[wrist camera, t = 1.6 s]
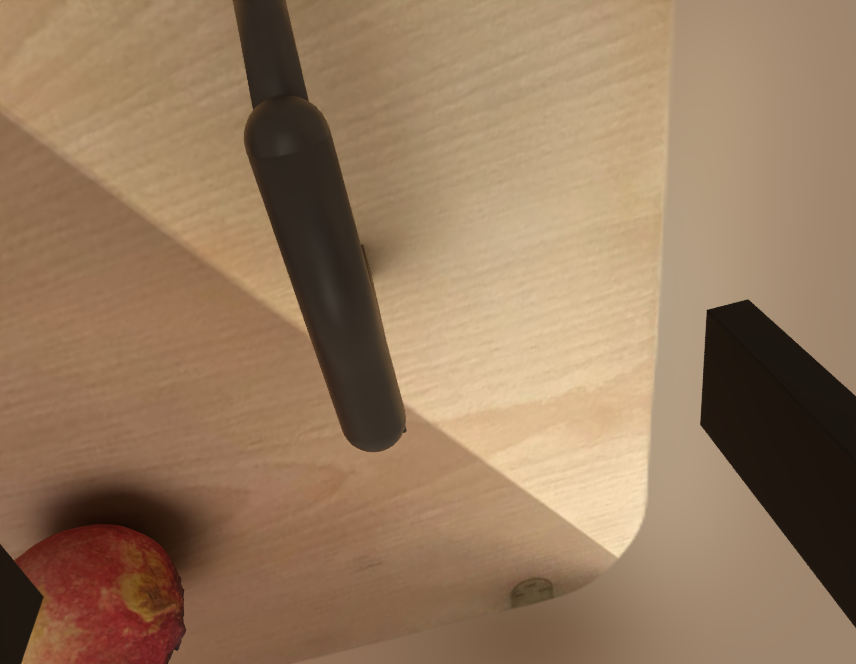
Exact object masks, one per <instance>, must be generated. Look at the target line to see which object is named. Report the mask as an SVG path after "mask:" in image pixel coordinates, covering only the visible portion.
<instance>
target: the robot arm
mask: <svg viewBox="0 0 856 664" xmlns="http://www.w3.org/2000/svg"><path fill="white" fill-rule="evenodd" d="M704 353H705V354H704V369H703V388H702V405H701V421H700V425H701V426H702V427H703V429H704V430H705V431H706V433H707V434H708V435H709V436H710V438H711V439H712V441H713V442H714V443H715V445H716V446H717V447H718V448H719V450H720V451H721V452H722V454H723V455H724V456H725V457H726V459H727V460H728V461H729V463H730V464H731V465H732V466H733V468H734V469H735V470H736V472H737V473H738V475H739V476H740V477H741V478H742V480H743V481H744V482H745V484H746V485H747V486H748V487H749V489H750V490H751V492H752V493H753V494H754V495H755V497H756V498H757V499H758V501H759V502H760V503H761V505H762V506H763V507H764V509H765V510H766V511H767V512H768V513H769V515H770V516H771V518H772V519H773V520H774V521H775V523H776V524H777V525H778V527H779V528H780V529H781V531H782V532H783V533H784V535H785V536H786V537H787V539H788V540H789V541H790V543H791V544H792V545H793V546H794V548H795V549H796V550H797V552H798V553H799V554H800V556H802V558H803V559H804V561H805V562H806V563H807V565H808V566H809V567H810V569H811V570H812V571H813V573H814V574H815V575H816V577H817V578H818V579H819V580H820V582H821V583H822V584H823V586H824V587H825V588H826V590H827V591H828V592H829V593H830V595H831V596H832V597H833V599H834V600H835V601H836V603H837V604H838V605H839V606H840V608H841V609H842V610H843V612H844V613H845V614H846V616H847V617H848V618H849V620H850V621H851V622H852V624H853V625H854V626H855V627H856V396H855V395H854V394H853V393H852V392H850V391H849V390H848V389H847V388H846V387H845V386H844V385H843V384H841V382H839V381H838V380H837V379H836V378H835V377H834V376H833V375H832V374H831V373H829V372H828V371H827V370H826V369H825V368H824V367H823V366H822V365H821V364H819V363H818V362H817V361H816V360H815V359H814V358H813V357H812V356H811V355H809V354H808V353H807V352H806V351H805V350H804V349H803V348H802V347H801V346H799V345H798V344H797V343H796V342H795V341H794V340H793V339H792V338H791V337H789V336H788V335H787V334H786V333H785V332H784V331H783V330H782V329H781V328H779V327H778V326H777V325H776V324H775V323H774V322H773V321H772V320H770V319H769V318H768V317H767V316H766V315H765V314H764V313H763V312H762V311H761V310H759V309H758V308H757V307H756V306H755V305H754V304H753V303H752V302H751V301H749V300H744V301H740V302H736V303H732V304H729V305H724V306H721V307H716V308H713V309H709V310H707V318H706V334H705V352H704ZM43 598H44V596H43V595H42V594H41V593H40V592H39V590H38V589H37V588H36V587H35V585H34V584H33V583H32V582H31V581H30V579H29V578H28V577H27V576H26V575H25V573H24V572H23V571H22V570H21V569H20V567H19V566H18V565H17V564H16V563H15V561H14V560H13V559H12V558H11V557H10V555H9V554H8V553H7V552H6V551H5V549H4V548H3V547H2V546H1V545H0V664H21V663H22V660H23V657H24V654H25V651H26V648H27V645H28V642H29V639H30V636H31V633H32V630H33V627H34V624H35V621H36V619H37V616H38V613H39V610H40V607H41V604H42V601H43Z"/></svg>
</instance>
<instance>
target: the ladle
mask: <svg viewBox="0 0 856 664" xmlns="http://www.w3.org/2000/svg"><path fill="white" fill-rule="evenodd" d="M233 4H234V9H235V15H236V20H237V26H238V31H239V36H240V42H241V47H242V53H243V58H244V64H245V69H246V74H247V80H248V85H249V91H250V96H251V102H252V107H253V111H252V113H251V114H250V115H249V118H248V120H247V123H246V125H245V130H244V143H245V148H246V152H247V155H248V158H249V161H250V164H251V167H252V170H253V173H254V176H255V179H256V181H257V184H258V187H259V190H260V193H261V196H262V199H263V202H264V205H265V208H266V211H267V213H268V216H269V219H270V222H271V225H272V228H273V231H274V234H275V237H276V240H277V242H278V245H279V248H280V251H281V254H282V257H283V260H284V263H285V266H286V269H287V271H288V274H289V277H290V280H291V283H292V286H293V289H294V292H295V295H296V298H297V300H298V303H299V306H300V309H301V312H302V315H303V318H304V321H305V324H306V327H307V330H308V332H309V335H310V338H311V341H312V344H313V347H314V350H315V353H316V356H317V359H318V361H319V364H320V367H321V370H322V373H323V376H324V379H325V382H326V385H327V388H328V390H329V393H330V396H331V399H332V402H333V405H334V408H335V411H336V414H337V417H338V419H339V422H340V425H341V428H342V431H343V433H344V435H345V437H346V438H347V440H348V441H349V442H350V443H351V444H352V445H353V446H355V447H356V448H358V449H360V450H363V451H367V452H379V451H383V450H386V449H388V448H390V447H391V446H393V445H394V444H395V443H396V442H397V441H398V440H399V438H400V437H401V435H402V433H405V432H406V426H405V424H406V414H405V409H404V405H403V401H402V398H401V394H400V390H399V386H398V383H397V379H396V375H395V371H394V368H393V364H392V360H391V356H390V353H389V349H388V345H387V341H386V337H385V332H384V328H383V324H382V319H381V315H380V310H379V306H378V301H377V297H376V293H375V288H374V284H373V279H372V275H371V272H370V268H369V264H368V260H367V257H366V253H365V249H364V245H361V244H360V240H359V237H358V233H357V229H356V225H355V222H354V218H353V214H352V210H351V207H350V203H349V199H348V195H347V192H346V188H345V184H344V180H343V177H342V173H341V169H340V166H339V162H338V158H337V154H336V151H335V147H334V143H333V139H332V136H331V132H330V129H329V126H328V123H327V121H326V119H325V118H324V116H323V115H322V113H321V112H320V111H319V110H318V109H317V107H316V106H314V105H313V104H311V103H310V102H309V100H308V96H307V92H306V87H305V83H304V78H303V74H302V70H301V65H300V61H299V57H298V52H297V48H296V44H295V39H294V35H293V31H292V26H291V22H290V18H289V13H288V9H287V4H286V0H233Z"/></svg>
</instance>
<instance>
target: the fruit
mask: <svg viewBox="0 0 856 664" xmlns="http://www.w3.org/2000/svg"><path fill="white" fill-rule="evenodd" d="M14 561H15V563H16V564H17V565H18V566H19V567H20V569H21V570H22V571H23V572H24V573H25V575H26V576H27V577H28V578H29V579H30V581H31V582H32V583H33V584H34V585H35V587H36V588H37V589H38V590H39V592H40V593H41V594H42V595H43V596H44V598H43V601H42V604H41V607H40V610H39V613H38V616H37V619H36V621H35V624H34V627H33V630H32V633H31V636H30V639H29V642H28V645H27V648H26V651H25V654H24V657H23V660H22V663H21V664H168V662H169V660H170V658H171V656H172V653H173V650H177V651H178V649H179V646H180V644H181V639H182V637H183V636H184V634H185V632H186V628H185V625H184V622H183V621H184V619H183V616H184V598H183V596H184V589H183V588H182V585H181V578H180V576H179V573H178V572H177V570H176V568H175V567H174V564H173V562H172V560H171V558H170V556H169V555H168V553H167V552H166V551H165V550H164V549H163V548H162V547H161V545H159V544H158V543H157V542H155V541H154V540H153V539H151V538H150V537H148V536H146V535H144V534H142V533H140V532H137V531H135V530H133V529H130V528H127V527H123V526H119V525H103V524H95V525H89V526H82V527H77V528H73V529H69V530H65V531H62V532H59V533H57V534H54V535H52V536H50V537H48V538H46V539H44V540H43V541H41V542H39V543H37V544H36V545H34V546H32V547H31V548H29V549H28V550H27V551H26V552H25V553H24V554H22V555H21V556H19V557H18V558H17V559H15V560H14Z"/></svg>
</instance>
